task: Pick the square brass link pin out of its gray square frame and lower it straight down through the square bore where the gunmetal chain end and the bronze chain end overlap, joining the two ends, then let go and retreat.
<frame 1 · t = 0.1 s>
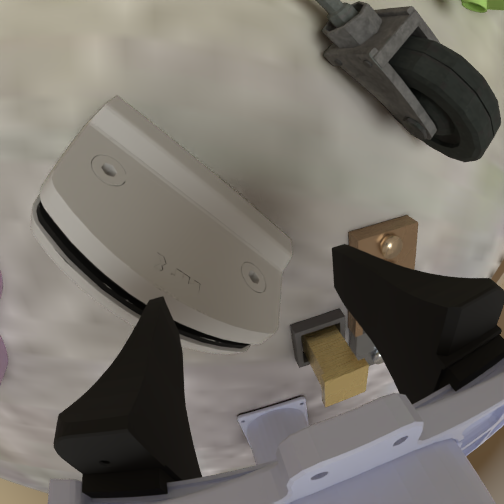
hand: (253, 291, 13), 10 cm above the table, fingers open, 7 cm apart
pin: (330, 359, 27), in the gray square frame
off-white striped device: (173, 212, 22), on the table
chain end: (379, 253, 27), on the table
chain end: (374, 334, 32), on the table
gray square frame: (316, 335, 30), on the table
caster wheel: (368, 66, 19), on the table
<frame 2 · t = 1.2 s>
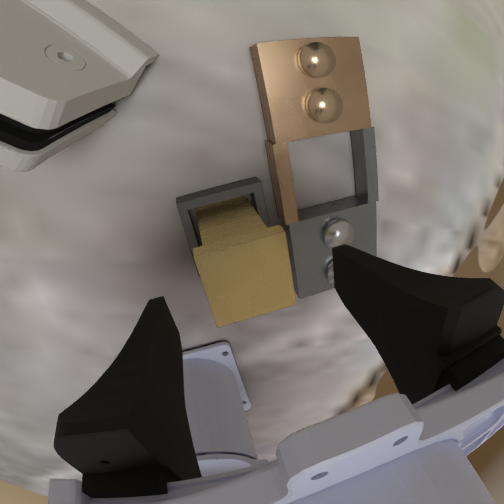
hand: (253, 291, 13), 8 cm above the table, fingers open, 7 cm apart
pin: (235, 247, 17), in the gray square frame
off-white striped device: (23, 39, 12), on the table
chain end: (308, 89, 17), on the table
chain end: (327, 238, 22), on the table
gray square frame: (225, 223, 20), on the table
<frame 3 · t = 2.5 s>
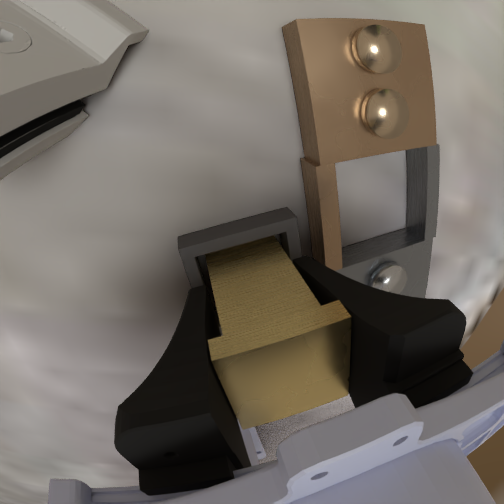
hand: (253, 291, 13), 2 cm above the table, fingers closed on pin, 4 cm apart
pin: (262, 314, 12), in the gray square frame, touching gripper
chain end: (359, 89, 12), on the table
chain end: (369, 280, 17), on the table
gray square frame: (244, 268, 15), on the table
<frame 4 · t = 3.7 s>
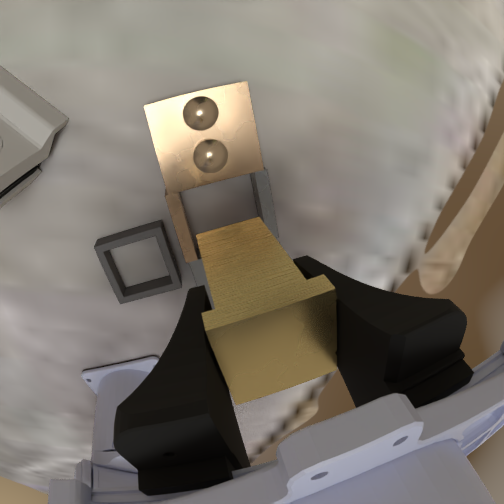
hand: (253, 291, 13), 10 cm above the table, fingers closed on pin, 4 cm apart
pin: (253, 293, 13), point 10 cm above the table, touching gripper
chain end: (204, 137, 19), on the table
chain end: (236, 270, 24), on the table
gray square frame: (139, 259, 22), on the table
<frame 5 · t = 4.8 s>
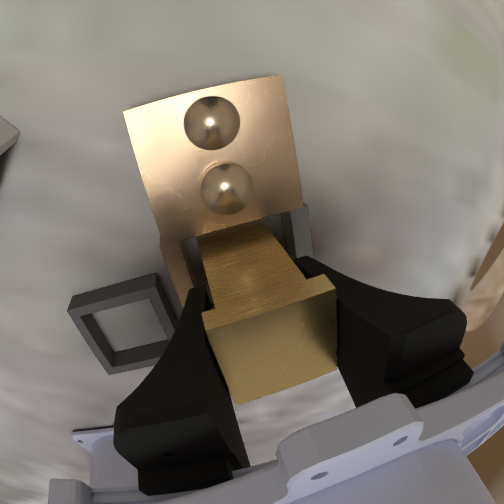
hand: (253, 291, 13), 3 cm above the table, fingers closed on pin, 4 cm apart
pin: (253, 293, 13), on the table, touching gripper
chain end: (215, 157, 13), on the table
gray square frame: (130, 321, 16), on the table
when the fingers open (2 cm above the table, at t = 5.4 s): pin stays where it is, on the table.
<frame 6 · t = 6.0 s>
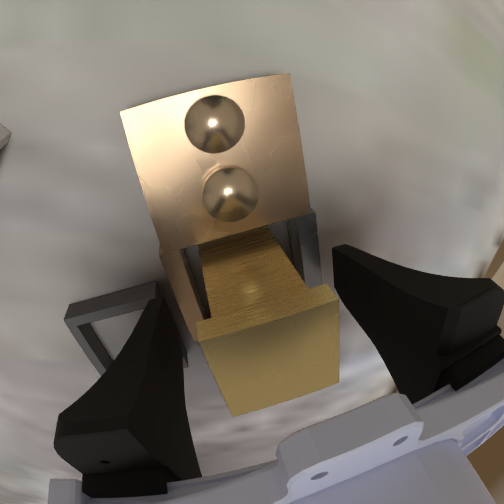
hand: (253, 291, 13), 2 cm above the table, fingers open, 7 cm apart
pin: (253, 301, 12), on the table
gray square frame: (129, 330, 15), on the table
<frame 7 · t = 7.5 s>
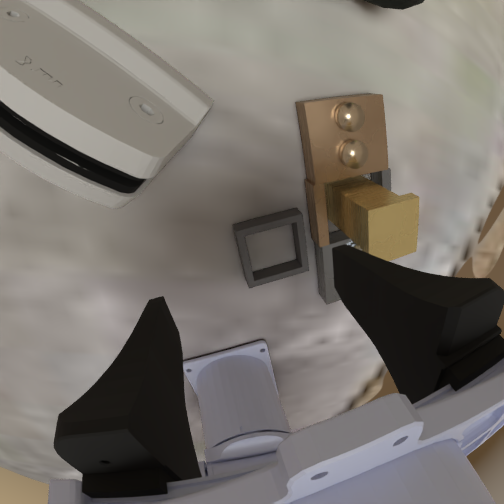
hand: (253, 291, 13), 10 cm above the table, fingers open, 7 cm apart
pin: (366, 212, 21), on the table
off-white striped device: (83, 76, 16), on the table
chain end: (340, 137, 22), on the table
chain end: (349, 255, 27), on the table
gray square frame: (270, 245, 24), on the table
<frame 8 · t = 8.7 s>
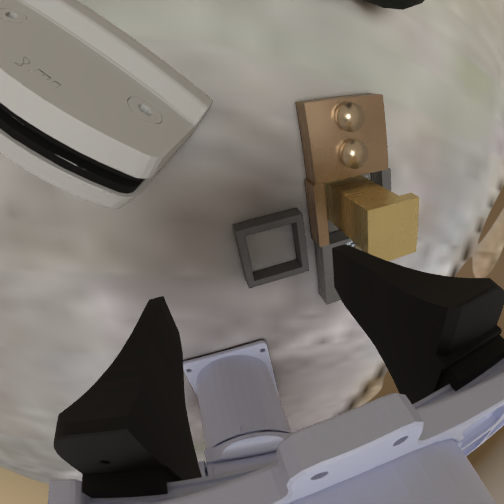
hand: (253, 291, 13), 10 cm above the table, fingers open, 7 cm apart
pin: (366, 212, 21), on the table
off-white striped device: (82, 77, 16), on the table
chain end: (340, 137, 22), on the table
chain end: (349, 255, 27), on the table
gray square frame: (270, 245, 24), on the table
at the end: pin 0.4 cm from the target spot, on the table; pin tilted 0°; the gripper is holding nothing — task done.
